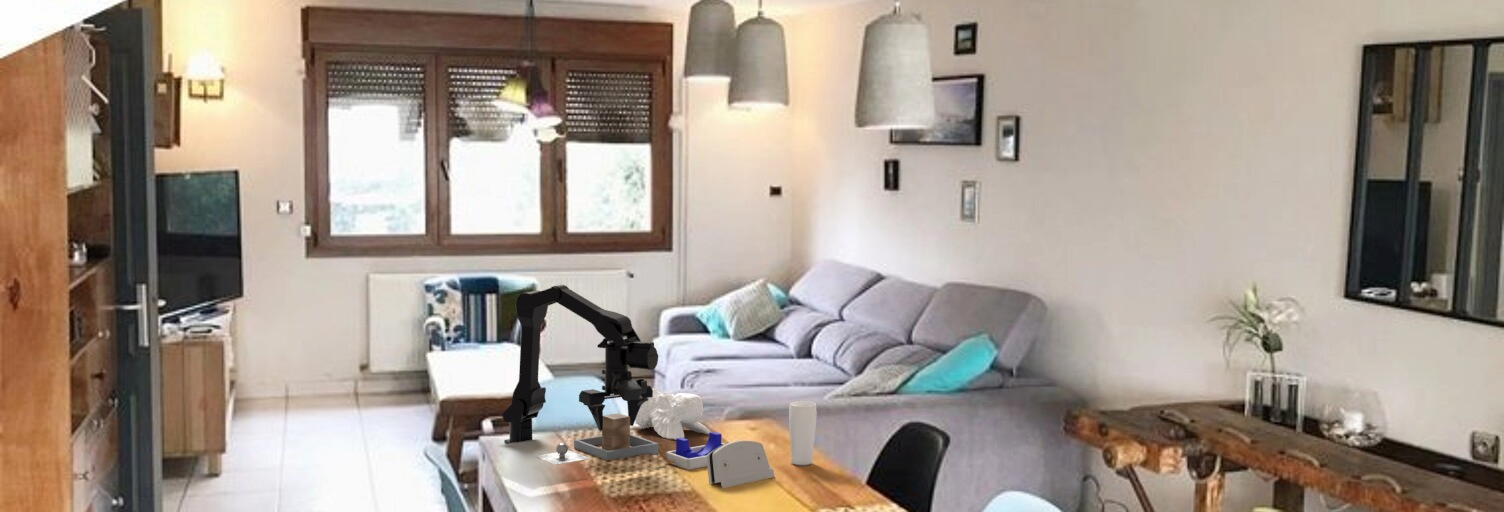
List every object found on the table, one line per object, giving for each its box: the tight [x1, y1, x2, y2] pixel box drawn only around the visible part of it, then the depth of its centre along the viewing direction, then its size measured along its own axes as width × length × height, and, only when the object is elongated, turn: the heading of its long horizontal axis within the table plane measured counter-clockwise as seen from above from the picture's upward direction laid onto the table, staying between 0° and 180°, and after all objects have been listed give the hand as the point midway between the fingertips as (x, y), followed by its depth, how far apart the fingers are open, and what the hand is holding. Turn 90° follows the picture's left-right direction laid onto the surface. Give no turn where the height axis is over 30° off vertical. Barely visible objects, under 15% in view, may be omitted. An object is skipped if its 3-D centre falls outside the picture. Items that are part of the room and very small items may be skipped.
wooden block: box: [601, 412, 631, 451], centre depth 323 cm, size 5×5×9 cm
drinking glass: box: [788, 400, 818, 467], centre depth 318 cm, size 7×7×15 cm
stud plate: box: [533, 442, 591, 465], centre depth 314 cm, size 10×10×5 cm
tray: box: [573, 433, 659, 461], centre depth 323 cm, size 15×15×4 cm
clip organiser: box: [665, 442, 725, 471], centre depth 319 cm, size 9×17×2 cm, turn 129°
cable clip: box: [675, 431, 722, 459], centre depth 320 cm, size 12×4×6 cm, turn 131°
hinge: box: [706, 440, 776, 489], centre depth 303 cm, size 17×5×10 cm, turn 132°
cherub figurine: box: [635, 387, 711, 441], centre depth 349 cm, size 13×12×20 cm
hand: (616, 427), depth 322 cm, fingers open, 9 cm apart
